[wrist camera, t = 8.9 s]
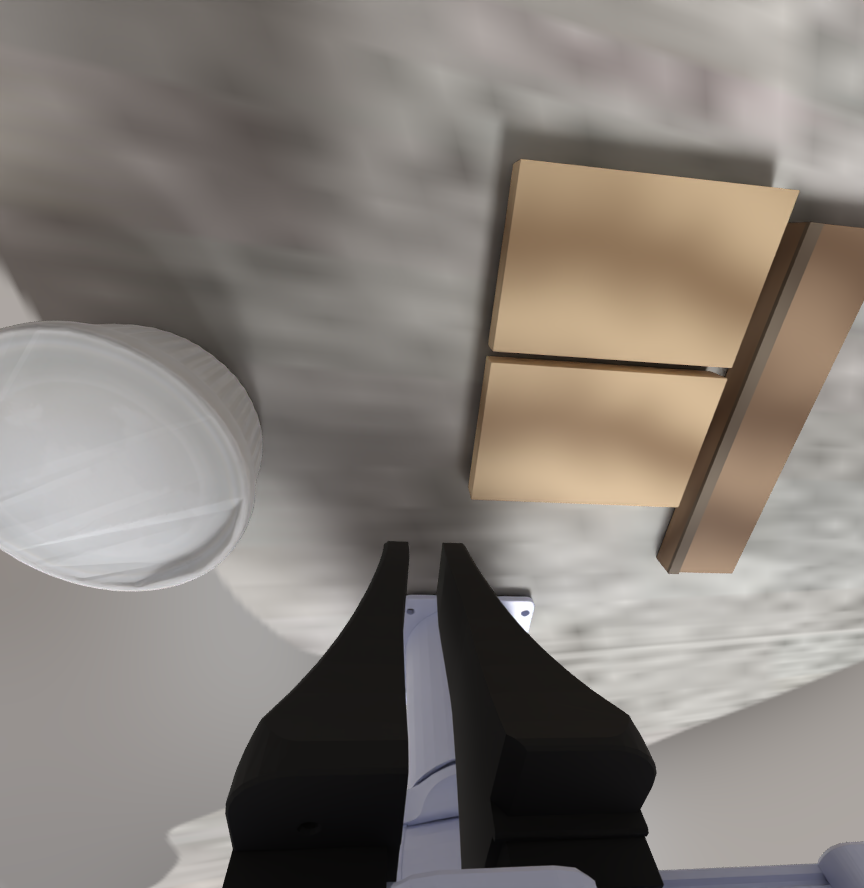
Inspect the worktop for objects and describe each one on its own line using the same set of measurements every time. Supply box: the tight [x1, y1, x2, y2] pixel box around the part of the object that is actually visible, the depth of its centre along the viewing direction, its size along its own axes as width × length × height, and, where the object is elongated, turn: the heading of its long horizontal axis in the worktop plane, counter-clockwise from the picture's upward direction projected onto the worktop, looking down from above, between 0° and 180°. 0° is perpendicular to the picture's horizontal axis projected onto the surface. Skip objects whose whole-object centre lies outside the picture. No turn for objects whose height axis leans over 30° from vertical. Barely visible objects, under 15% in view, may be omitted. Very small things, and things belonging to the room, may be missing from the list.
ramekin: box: [0, 321, 263, 591], centre depth 19 cm, size 11×11×5 cm
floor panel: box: [657, 222, 864, 574], centre depth 22 cm, size 18×4×1 cm, turn 175°
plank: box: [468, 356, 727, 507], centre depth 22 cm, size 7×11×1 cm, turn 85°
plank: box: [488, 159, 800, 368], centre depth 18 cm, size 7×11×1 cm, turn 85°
